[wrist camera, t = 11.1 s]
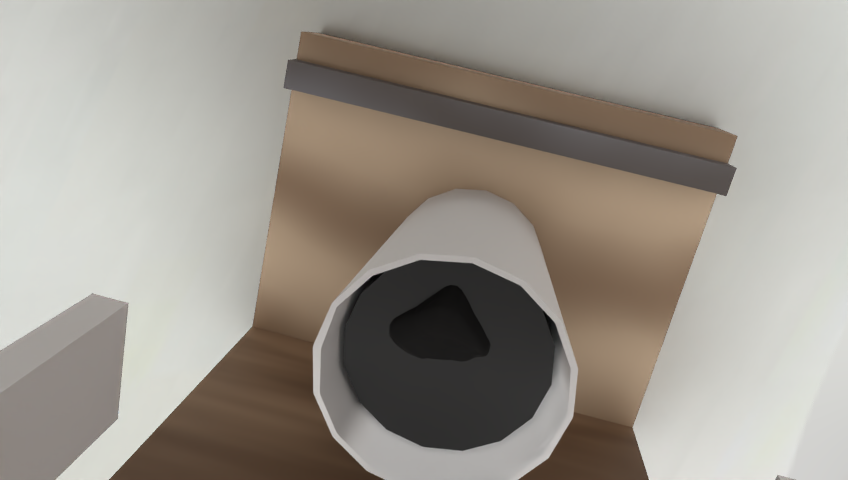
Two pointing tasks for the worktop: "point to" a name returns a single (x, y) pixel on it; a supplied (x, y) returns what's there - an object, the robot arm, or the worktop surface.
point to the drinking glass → (449, 348)
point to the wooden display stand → (401, 195)
